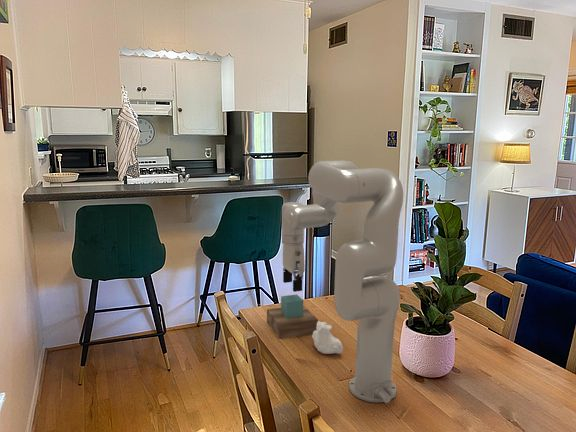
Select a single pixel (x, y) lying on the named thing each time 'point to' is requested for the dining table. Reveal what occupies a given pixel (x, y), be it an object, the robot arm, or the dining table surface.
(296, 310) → the teal cube
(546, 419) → the dining table surface
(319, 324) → the bust
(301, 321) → the walnut block
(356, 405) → the dining table surface
